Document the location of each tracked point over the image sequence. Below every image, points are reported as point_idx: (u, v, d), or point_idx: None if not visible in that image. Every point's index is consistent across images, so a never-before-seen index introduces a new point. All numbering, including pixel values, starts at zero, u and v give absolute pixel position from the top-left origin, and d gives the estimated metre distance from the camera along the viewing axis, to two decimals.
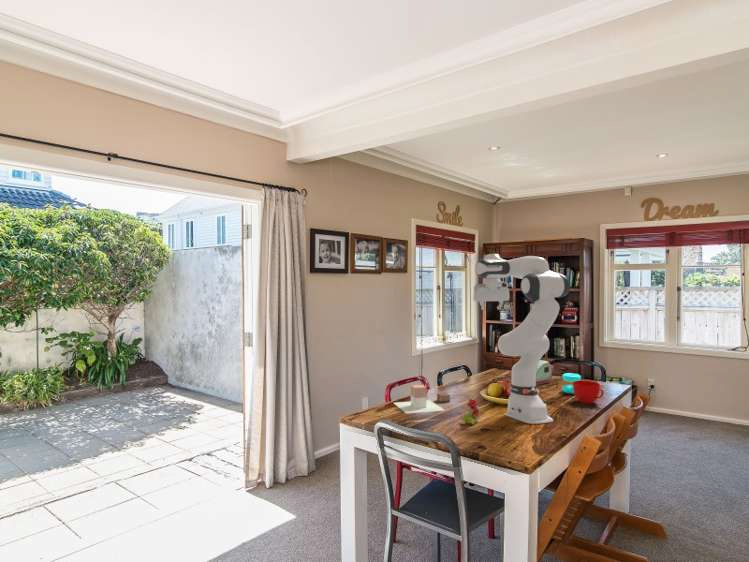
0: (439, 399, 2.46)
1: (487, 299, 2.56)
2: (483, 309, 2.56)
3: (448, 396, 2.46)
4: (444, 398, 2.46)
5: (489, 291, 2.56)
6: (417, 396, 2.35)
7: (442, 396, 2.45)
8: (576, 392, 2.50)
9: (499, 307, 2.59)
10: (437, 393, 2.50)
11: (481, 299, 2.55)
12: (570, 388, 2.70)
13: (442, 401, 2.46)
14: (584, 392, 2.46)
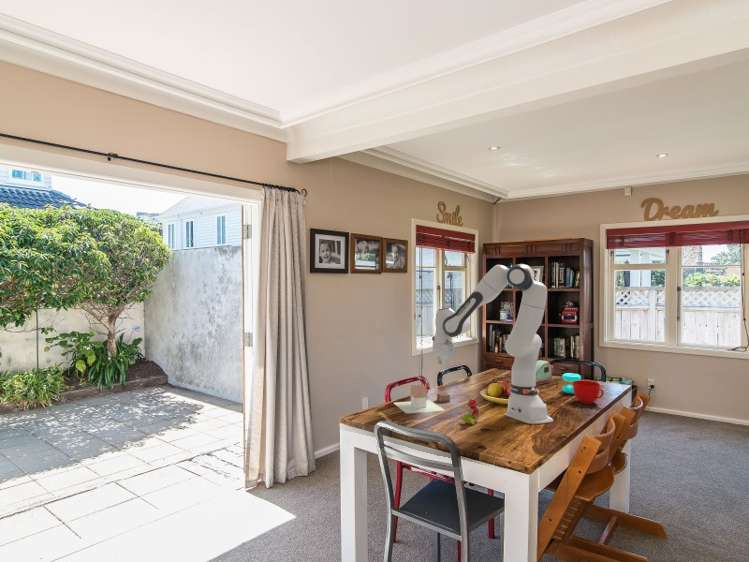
0: (439, 399, 2.46)
1: None
2: None
3: (448, 396, 2.46)
4: (444, 398, 2.46)
5: None
6: (417, 396, 2.35)
7: (442, 396, 2.46)
8: (576, 392, 2.50)
9: None
10: (437, 393, 2.50)
11: None
12: (570, 388, 2.70)
13: (442, 401, 2.46)
14: (584, 392, 2.46)
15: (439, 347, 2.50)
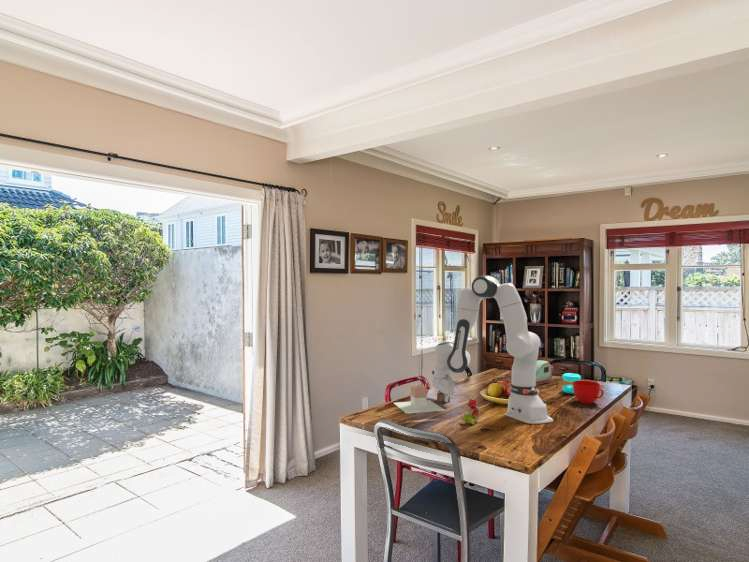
0: (439, 399, 2.46)
1: None
2: (447, 401, 2.45)
3: None
4: None
5: None
6: (417, 396, 2.35)
7: (442, 396, 2.46)
8: (576, 392, 2.50)
9: None
10: (437, 393, 2.50)
11: None
12: (570, 388, 2.70)
13: (442, 401, 2.46)
14: (584, 392, 2.46)
15: (439, 381, 2.50)
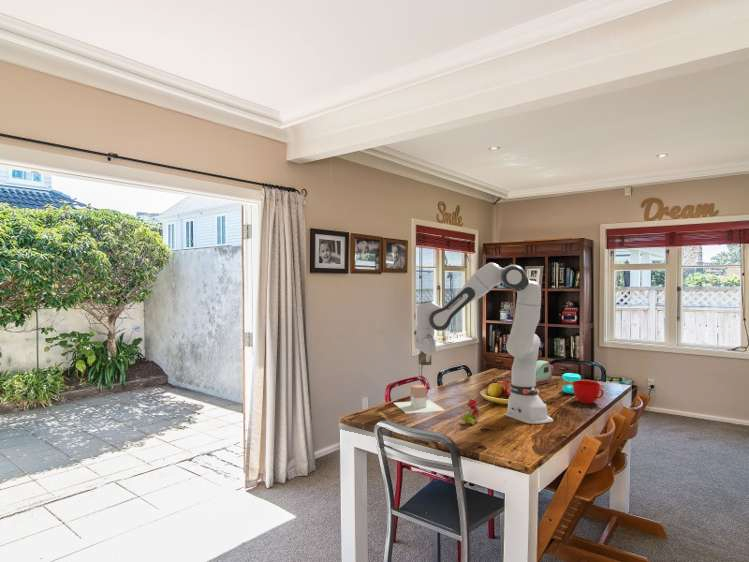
0: (421, 359, 2.39)
1: None
2: None
3: (430, 356, 2.39)
4: None
5: None
6: (417, 396, 2.35)
7: (423, 356, 2.38)
8: (576, 392, 2.50)
9: None
10: None
11: None
12: (570, 388, 2.70)
13: (423, 361, 2.38)
14: (584, 392, 2.46)
15: (421, 341, 2.42)
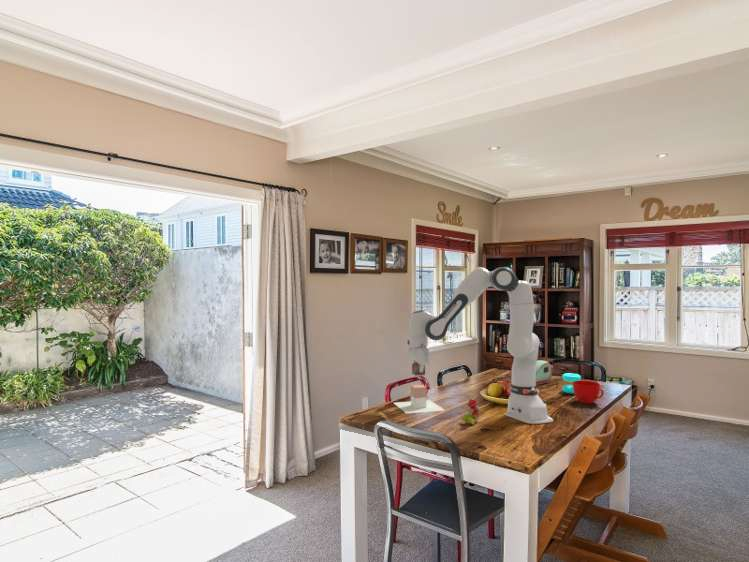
0: (414, 369, 2.36)
1: None
2: (422, 371, 2.35)
3: None
4: None
5: None
6: (417, 396, 2.35)
7: (417, 366, 2.35)
8: (576, 392, 2.50)
9: None
10: (412, 363, 2.40)
11: None
12: (570, 388, 2.70)
13: (417, 371, 2.35)
14: (584, 392, 2.46)
15: (414, 351, 2.40)
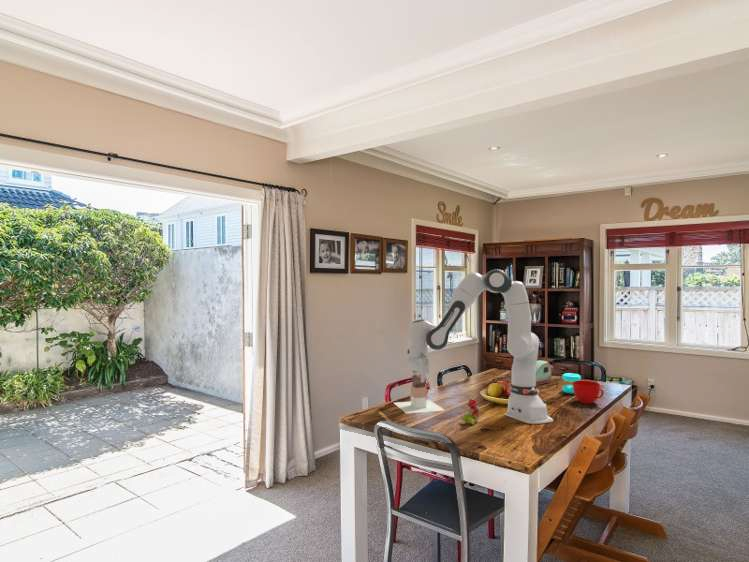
0: (414, 382, 2.36)
1: None
2: None
3: None
4: (419, 380, 2.36)
5: None
6: (417, 396, 2.35)
7: (417, 378, 2.35)
8: (576, 392, 2.50)
9: None
10: None
11: None
12: (570, 388, 2.70)
13: (417, 383, 2.35)
14: (584, 392, 2.46)
15: (414, 360, 2.40)
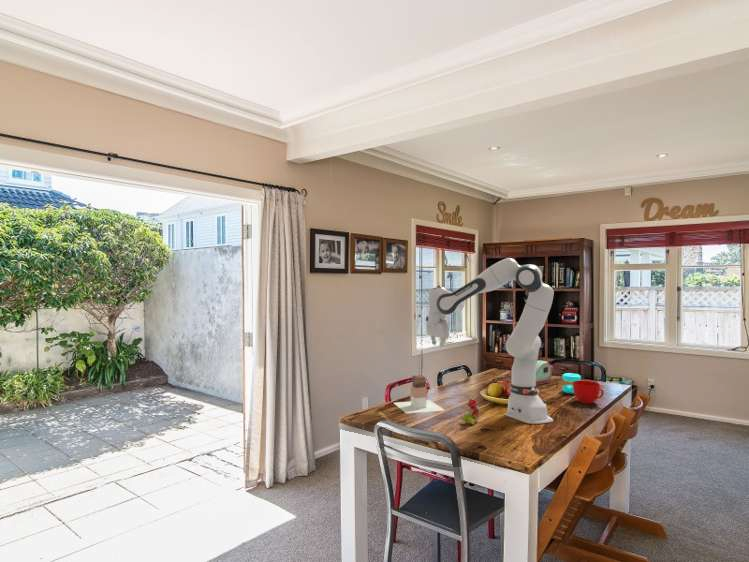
0: (414, 382, 2.36)
1: None
2: (443, 346, 2.42)
3: (423, 378, 2.36)
4: (419, 380, 2.36)
5: None
6: (417, 396, 2.35)
7: (417, 378, 2.35)
8: (576, 392, 2.50)
9: (435, 342, 2.51)
10: None
11: None
12: (570, 388, 2.70)
13: (417, 383, 2.35)
14: (584, 392, 2.46)
15: (433, 327, 2.48)
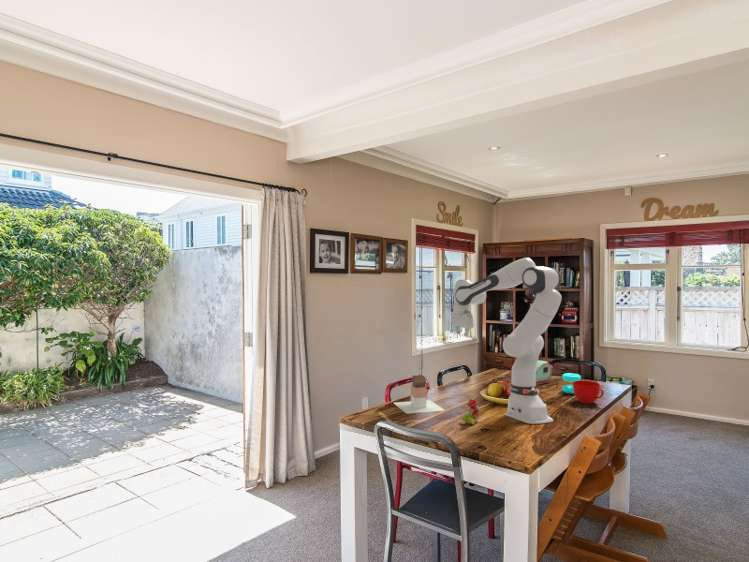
0: (414, 382, 2.36)
1: None
2: (467, 335, 2.54)
3: (423, 378, 2.36)
4: (419, 380, 2.36)
5: None
6: (417, 396, 2.35)
7: (417, 378, 2.35)
8: (576, 392, 2.50)
9: (459, 332, 2.63)
10: None
11: None
12: (570, 388, 2.70)
13: (417, 383, 2.35)
14: (584, 392, 2.46)
15: (458, 317, 2.60)
